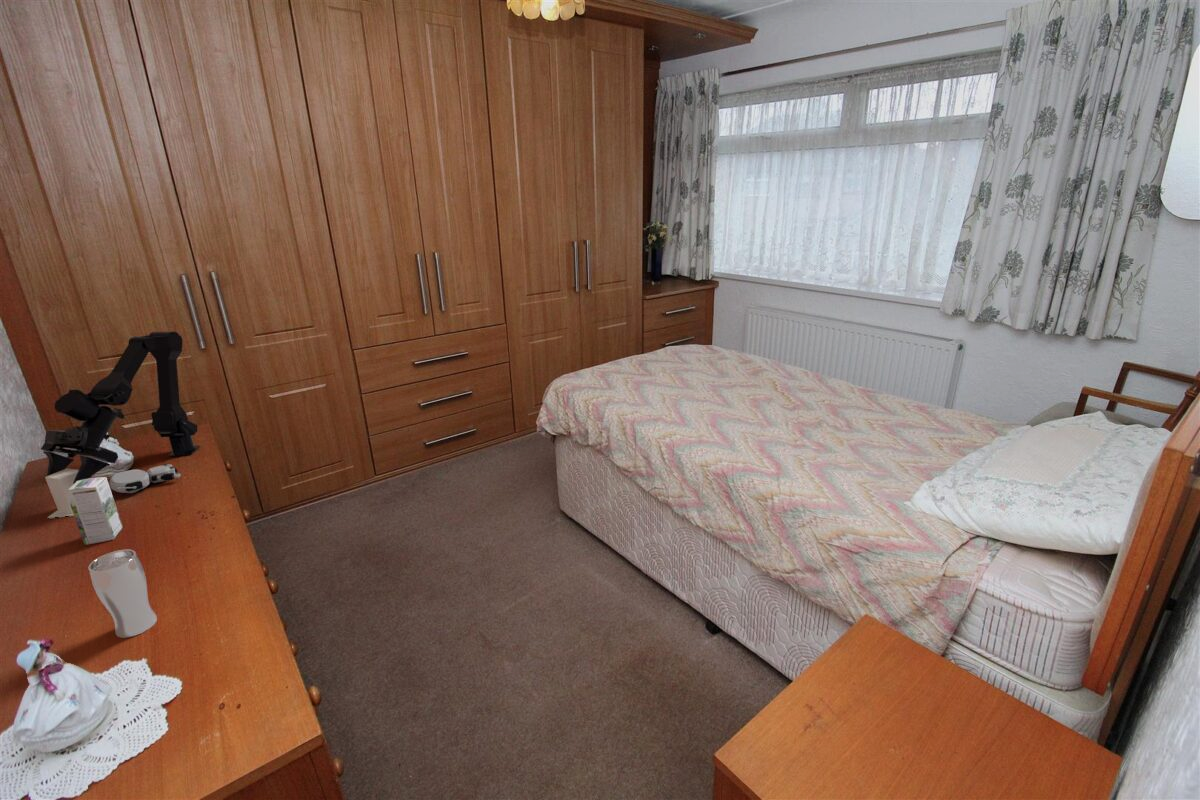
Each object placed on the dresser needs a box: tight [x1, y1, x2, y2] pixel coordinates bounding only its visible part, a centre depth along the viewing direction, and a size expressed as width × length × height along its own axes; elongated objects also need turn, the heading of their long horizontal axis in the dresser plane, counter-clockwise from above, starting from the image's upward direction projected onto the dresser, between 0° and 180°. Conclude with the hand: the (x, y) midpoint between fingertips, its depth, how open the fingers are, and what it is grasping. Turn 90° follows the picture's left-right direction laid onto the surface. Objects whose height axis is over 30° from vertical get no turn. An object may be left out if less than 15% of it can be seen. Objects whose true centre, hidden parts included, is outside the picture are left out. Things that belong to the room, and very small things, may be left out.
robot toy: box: [108, 463, 181, 494], centre depth 154 cm, size 12×4×15 cm
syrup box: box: [66, 476, 124, 546], centre depth 128 cm, size 6×6×14 cm
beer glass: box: [87, 548, 158, 639], centre depth 99 cm, size 7×7×15 cm
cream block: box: [45, 467, 79, 513], centre depth 140 cm, size 5×5×10 cm
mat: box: [47, 509, 74, 519], centre depth 142 cm, size 8×8×1 cm
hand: (62, 483), depth 138 cm, fingers open, 9 cm apart
